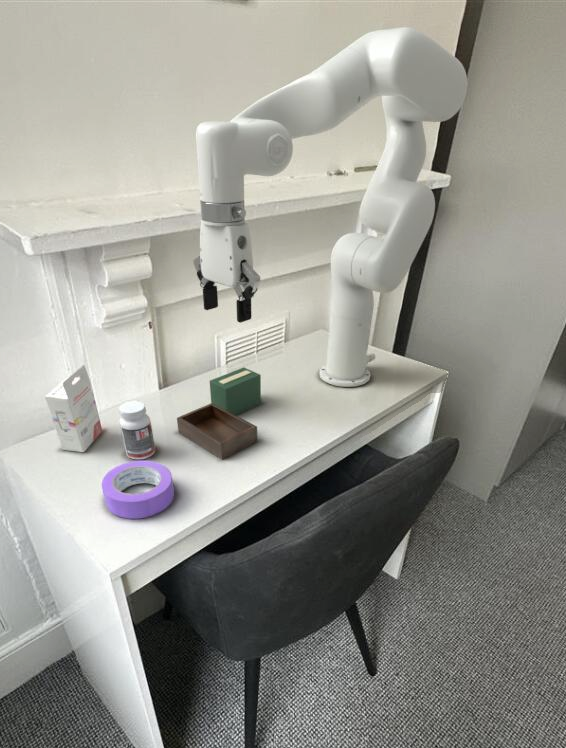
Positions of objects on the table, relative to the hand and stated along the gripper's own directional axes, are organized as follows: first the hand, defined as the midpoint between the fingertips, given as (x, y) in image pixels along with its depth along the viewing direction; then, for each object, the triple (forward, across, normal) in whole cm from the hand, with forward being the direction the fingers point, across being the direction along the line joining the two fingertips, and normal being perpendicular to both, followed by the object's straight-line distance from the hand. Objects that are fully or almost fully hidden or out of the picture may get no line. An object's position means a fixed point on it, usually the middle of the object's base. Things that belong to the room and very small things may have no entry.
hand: (227, 314), depth 96 cm
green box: (+21, +1, -2) cm, 21 cm away
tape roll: (+21, -12, +32) cm, 40 cm away
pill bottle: (+21, 0, +24) cm, 32 cm away
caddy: (+21, -6, +9) cm, 24 cm away
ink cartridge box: (+21, +12, +30) cm, 39 cm away
